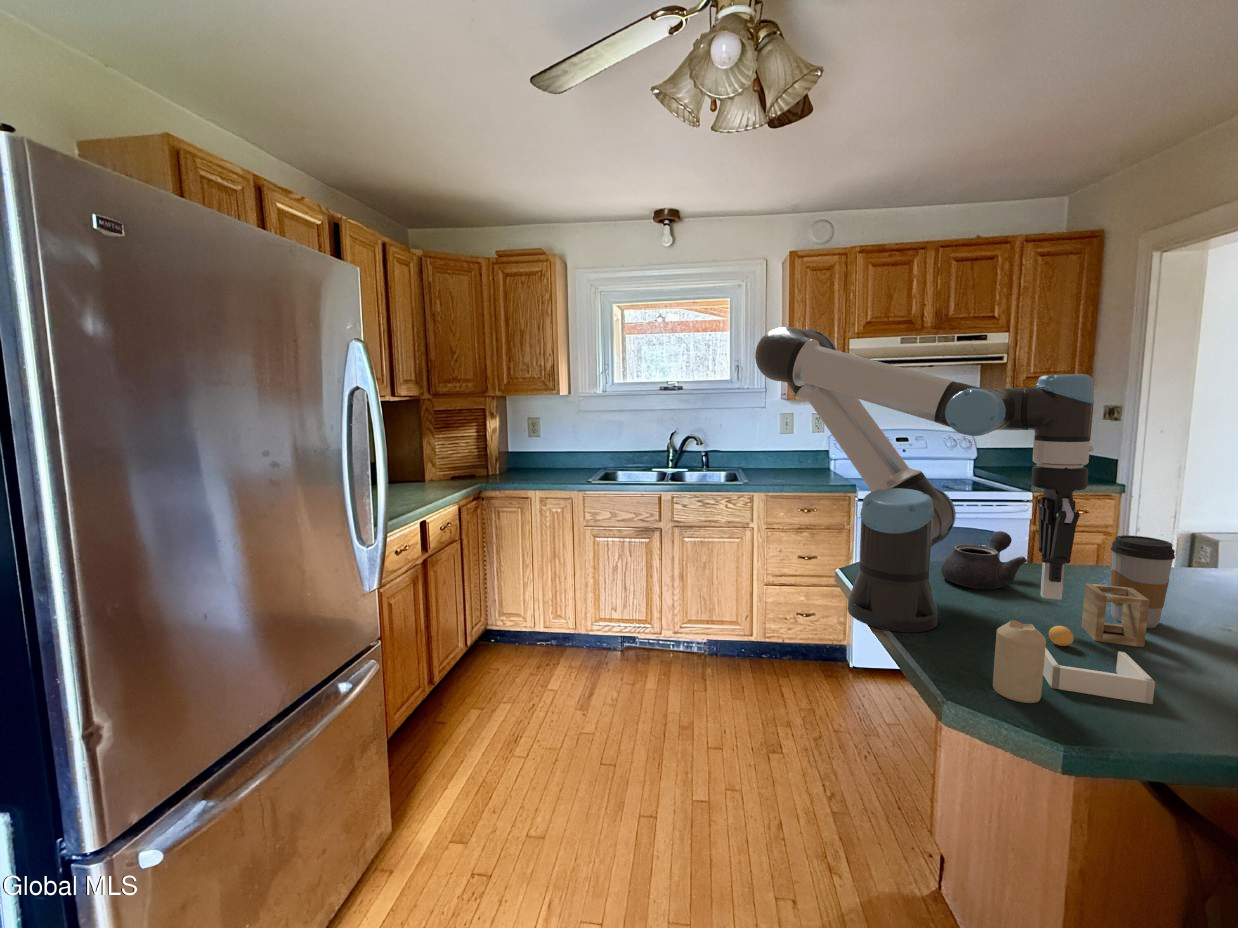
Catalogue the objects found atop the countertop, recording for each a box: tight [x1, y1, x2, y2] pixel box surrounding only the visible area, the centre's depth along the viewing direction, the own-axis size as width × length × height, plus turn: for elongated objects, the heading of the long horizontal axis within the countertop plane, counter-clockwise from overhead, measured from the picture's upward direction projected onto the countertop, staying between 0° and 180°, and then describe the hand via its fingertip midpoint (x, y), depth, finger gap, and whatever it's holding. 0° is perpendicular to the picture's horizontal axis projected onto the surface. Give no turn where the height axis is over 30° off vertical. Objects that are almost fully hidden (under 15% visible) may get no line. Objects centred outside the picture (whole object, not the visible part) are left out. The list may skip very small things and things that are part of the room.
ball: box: [1048, 625, 1075, 647], centre depth 90 cm, size 3×3×3 cm
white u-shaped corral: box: [1043, 647, 1156, 705], centre depth 79 cm, size 11×9×3 cm
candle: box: [992, 619, 1047, 704], centre depth 76 cm, size 6×6×10 cm
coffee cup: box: [1110, 534, 1176, 629], centre depth 98 cm, size 8×8×15 cm
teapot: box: [940, 530, 1028, 590], centre depth 120 cm, size 19×15×10 cm
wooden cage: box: [1080, 583, 1150, 648], centre depth 93 cm, size 6×6×8 cm
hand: (1051, 597), depth 97 cm, fingers closed
